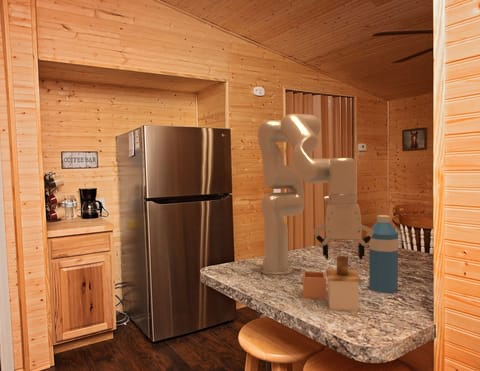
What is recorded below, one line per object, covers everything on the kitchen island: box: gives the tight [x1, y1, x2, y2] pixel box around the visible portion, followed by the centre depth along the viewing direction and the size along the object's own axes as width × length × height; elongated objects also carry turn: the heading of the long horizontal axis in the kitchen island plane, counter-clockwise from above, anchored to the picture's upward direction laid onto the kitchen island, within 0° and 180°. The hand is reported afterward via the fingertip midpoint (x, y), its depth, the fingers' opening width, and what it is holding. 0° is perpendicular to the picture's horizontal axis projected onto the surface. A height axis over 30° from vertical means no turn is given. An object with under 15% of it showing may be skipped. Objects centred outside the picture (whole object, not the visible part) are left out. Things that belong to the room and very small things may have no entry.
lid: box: [325, 255, 362, 283], centre depth 109 cm, size 9×9×6 cm
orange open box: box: [302, 271, 327, 300], centre depth 118 cm, size 7×7×7 cm
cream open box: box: [327, 280, 360, 312], centre depth 109 cm, size 8×8×9 cm
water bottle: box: [368, 214, 399, 294], centre depth 123 cm, size 9×9×25 cm
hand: (343, 258), depth 108 cm, fingers open, 9 cm apart
